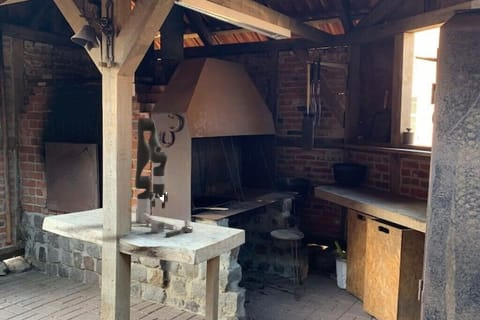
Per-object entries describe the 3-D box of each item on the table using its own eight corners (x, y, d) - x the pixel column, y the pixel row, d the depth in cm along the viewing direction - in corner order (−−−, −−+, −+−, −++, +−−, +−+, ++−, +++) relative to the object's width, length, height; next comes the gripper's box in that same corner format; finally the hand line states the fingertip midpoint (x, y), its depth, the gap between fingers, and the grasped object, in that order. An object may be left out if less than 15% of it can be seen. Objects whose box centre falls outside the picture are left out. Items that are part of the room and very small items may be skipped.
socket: (151, 232, 287) (151, 222, 287) (157, 230, 292) (157, 220, 292) (157, 233, 284) (157, 223, 284) (164, 231, 289) (164, 222, 288)
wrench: (175, 234, 296) (139, 224, 308) (176, 233, 298) (141, 223, 310) (176, 222, 295) (140, 212, 307) (178, 222, 297) (142, 212, 309)
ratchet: (163, 236, 278) (163, 224, 277) (186, 230, 296) (186, 218, 295) (171, 237, 274) (171, 225, 273) (194, 231, 292) (194, 220, 291)
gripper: (146, 182, 287) (146, 207, 288) (162, 184, 279) (162, 209, 280) (154, 181, 293) (154, 205, 294) (170, 183, 285) (170, 208, 286)
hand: (158, 207), depth 287 cm, fingers open, 8 cm apart
